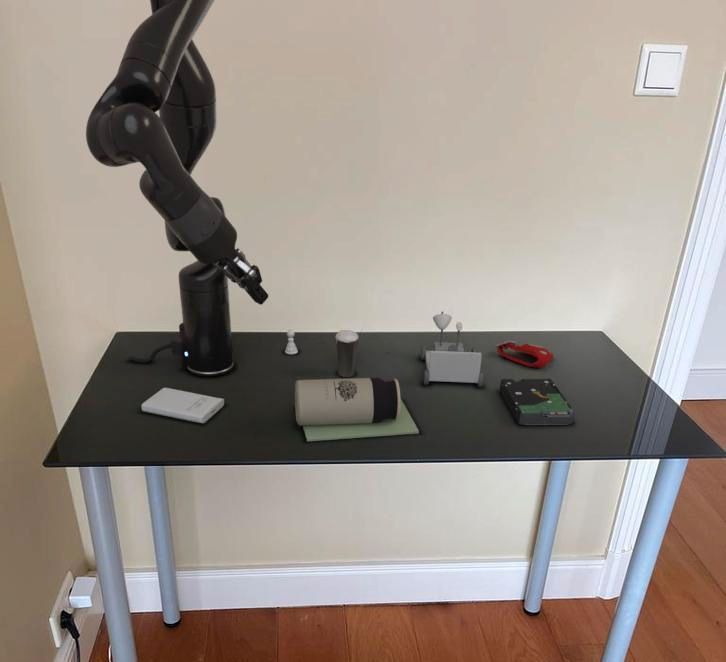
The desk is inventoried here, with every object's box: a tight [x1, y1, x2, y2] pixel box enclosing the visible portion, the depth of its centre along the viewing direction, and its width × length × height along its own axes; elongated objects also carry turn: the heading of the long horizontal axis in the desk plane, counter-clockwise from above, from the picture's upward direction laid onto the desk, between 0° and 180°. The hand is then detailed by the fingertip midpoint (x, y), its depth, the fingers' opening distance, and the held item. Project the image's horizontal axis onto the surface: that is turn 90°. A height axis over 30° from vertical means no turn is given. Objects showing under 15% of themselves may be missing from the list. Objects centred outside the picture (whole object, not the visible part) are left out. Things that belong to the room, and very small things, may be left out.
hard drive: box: [141, 387, 225, 424], centre depth 140 cm, size 2×8×12 cm
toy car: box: [420, 311, 485, 388], centre depth 156 cm, size 18×10×12 cm
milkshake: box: [335, 329, 363, 378], centre depth 153 cm, size 5×5×10 cm
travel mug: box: [294, 377, 402, 427], centre depth 135 cm, size 8×8×18 cm
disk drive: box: [499, 378, 575, 426], centre depth 144 cm, size 10×3×15 cm
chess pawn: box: [284, 329, 299, 355], centre depth 162 cm, size 3×3×5 cm
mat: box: [302, 399, 420, 442], centre depth 138 cm, size 20×13×1 cm, turn 102°
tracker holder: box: [494, 339, 554, 369], centre depth 163 cm, size 12×4×10 cm
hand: (262, 299), depth 127 cm, fingers closed
